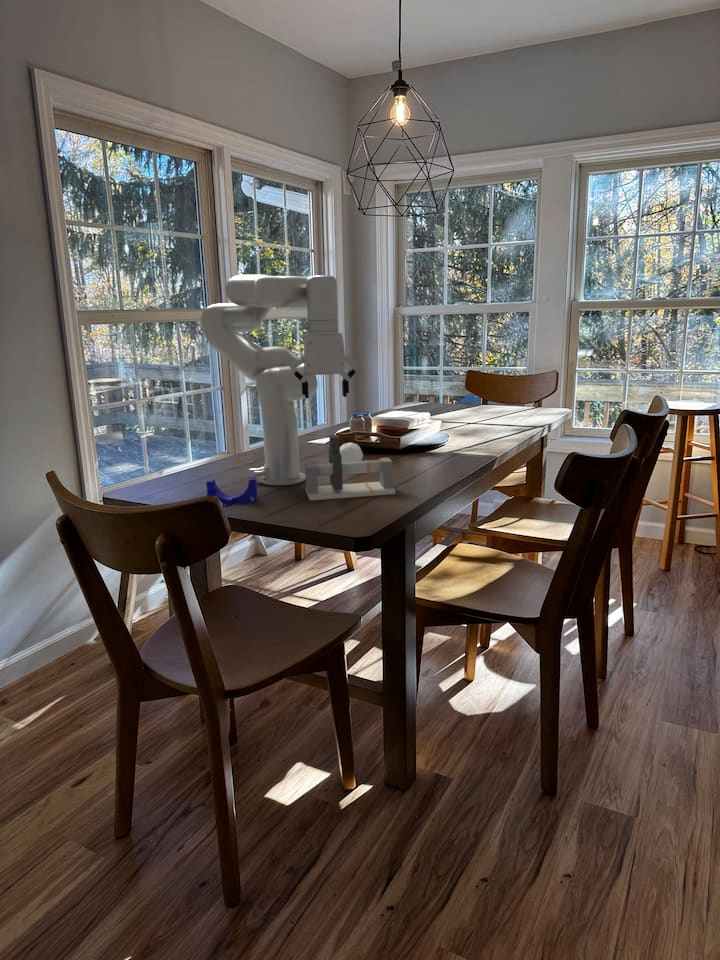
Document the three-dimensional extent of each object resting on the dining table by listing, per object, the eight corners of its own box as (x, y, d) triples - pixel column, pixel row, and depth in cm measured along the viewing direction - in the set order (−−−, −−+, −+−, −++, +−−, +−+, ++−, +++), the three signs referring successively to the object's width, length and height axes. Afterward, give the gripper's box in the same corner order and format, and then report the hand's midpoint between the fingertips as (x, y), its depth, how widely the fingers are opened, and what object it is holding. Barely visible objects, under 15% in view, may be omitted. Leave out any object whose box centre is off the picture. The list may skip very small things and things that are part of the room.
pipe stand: (309, 500, 168) (308, 469, 166) (305, 490, 178) (304, 460, 176) (395, 493, 172) (394, 463, 170) (386, 484, 181) (386, 455, 179)
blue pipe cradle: (207, 506, 166) (205, 483, 165) (210, 501, 170) (208, 478, 169) (255, 504, 166) (254, 481, 165) (257, 499, 171) (256, 477, 169)
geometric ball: (354, 474, 206) (367, 452, 206) (353, 471, 198) (367, 448, 198) (333, 462, 206) (346, 440, 207) (331, 458, 198) (345, 435, 199)
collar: (334, 490, 169) (332, 439, 166) (330, 482, 178) (327, 433, 175) (342, 489, 169) (340, 439, 166) (337, 481, 178) (335, 433, 175)
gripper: (288, 329, 161) (292, 400, 165) (360, 327, 163) (361, 397, 167) (287, 328, 168) (290, 396, 172) (355, 326, 170) (357, 394, 175)
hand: (325, 397), depth 170 cm, fingers open, 9 cm apart
